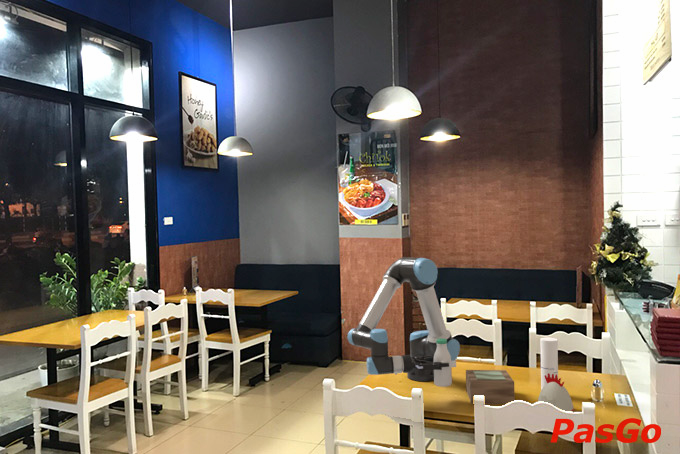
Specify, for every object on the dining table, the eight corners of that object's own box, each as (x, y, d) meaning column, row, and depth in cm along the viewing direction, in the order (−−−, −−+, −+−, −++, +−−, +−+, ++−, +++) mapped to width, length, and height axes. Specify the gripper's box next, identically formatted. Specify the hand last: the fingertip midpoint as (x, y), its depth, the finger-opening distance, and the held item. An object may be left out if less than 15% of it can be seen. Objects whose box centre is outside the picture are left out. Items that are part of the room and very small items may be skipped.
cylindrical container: (539, 392, 247) (538, 337, 247) (554, 392, 247) (554, 337, 247) (544, 397, 240) (543, 341, 240) (560, 397, 240) (559, 340, 239)
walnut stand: (466, 390, 252) (465, 369, 252) (506, 390, 250) (505, 369, 250) (471, 404, 234) (471, 381, 234) (514, 404, 233) (514, 381, 232)
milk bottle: (452, 387, 236) (450, 341, 236) (433, 387, 238) (432, 341, 237) (452, 381, 244) (450, 337, 243) (434, 381, 246) (433, 337, 245)
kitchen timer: (547, 402, 235) (547, 367, 235) (579, 410, 225) (578, 374, 224) (531, 410, 226) (530, 374, 225) (563, 419, 215) (562, 381, 215)
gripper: (398, 366, 250) (447, 363, 251) (406, 379, 229) (460, 376, 231) (397, 349, 249) (446, 346, 251) (406, 362, 229) (459, 358, 231)
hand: (453, 361), depth 241 cm, fingers closed on milk bottle, 7 cm apart
